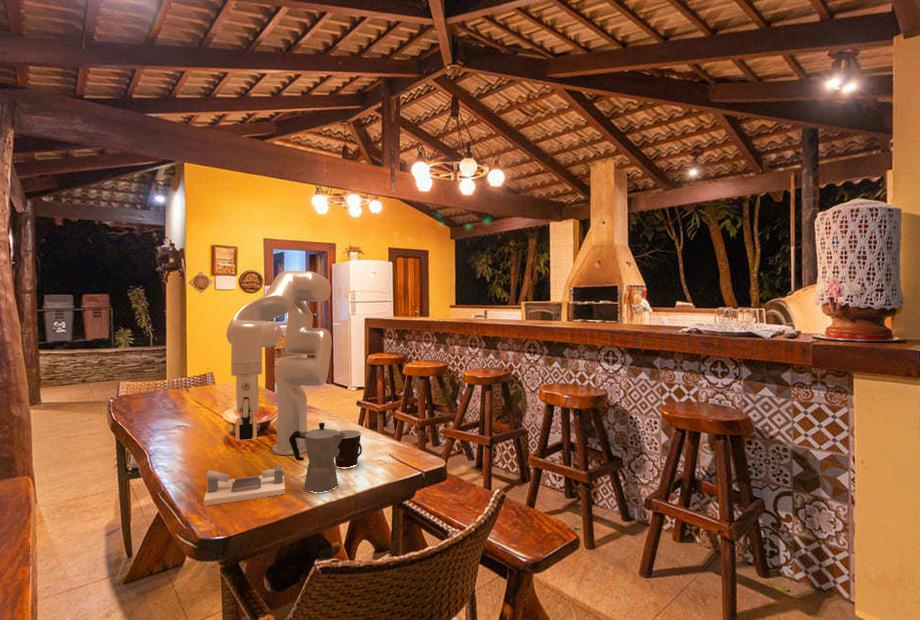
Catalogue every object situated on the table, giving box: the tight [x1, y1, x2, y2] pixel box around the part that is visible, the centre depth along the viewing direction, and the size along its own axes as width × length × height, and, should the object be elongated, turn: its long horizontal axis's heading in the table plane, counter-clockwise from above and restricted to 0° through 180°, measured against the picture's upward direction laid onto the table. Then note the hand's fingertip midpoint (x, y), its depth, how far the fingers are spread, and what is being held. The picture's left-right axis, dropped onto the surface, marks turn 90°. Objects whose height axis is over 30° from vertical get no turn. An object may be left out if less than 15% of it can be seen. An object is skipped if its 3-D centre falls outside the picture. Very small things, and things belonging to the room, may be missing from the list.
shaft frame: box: [203, 465, 286, 507], centre depth 124 cm, size 19×12×7 cm, turn 113°
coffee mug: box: [334, 429, 363, 467], centre depth 142 cm, size 12×9×10 cm
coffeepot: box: [289, 422, 346, 492], centre depth 127 cm, size 15×9×18 cm, turn 93°
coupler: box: [232, 416, 261, 442], centre depth 124 cm, size 7×4×5 cm
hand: (246, 435), depth 124 cm, fingers closed on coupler, 4 cm apart
